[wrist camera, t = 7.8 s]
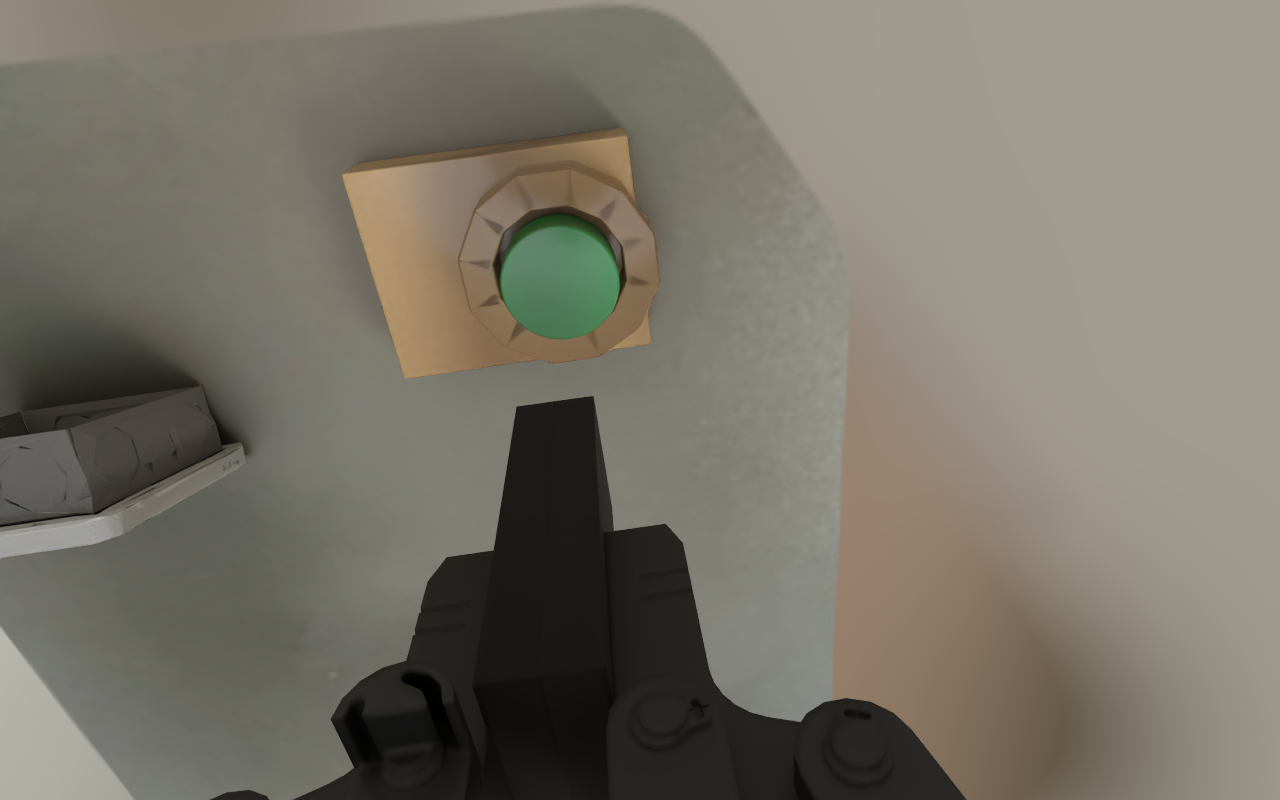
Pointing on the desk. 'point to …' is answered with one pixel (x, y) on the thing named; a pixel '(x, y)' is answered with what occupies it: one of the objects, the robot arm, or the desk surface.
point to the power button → (560, 277)
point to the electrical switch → (104, 467)
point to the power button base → (495, 245)
